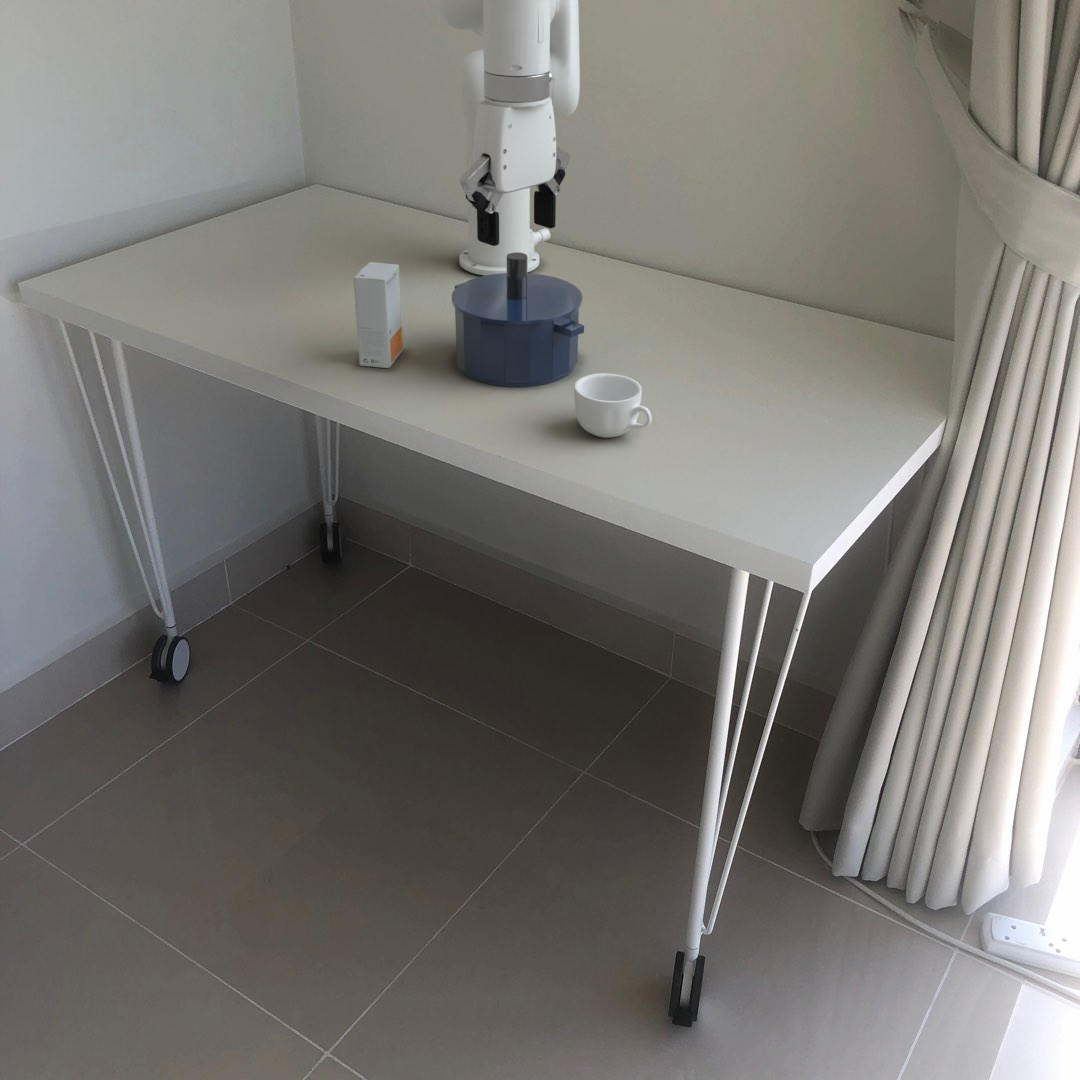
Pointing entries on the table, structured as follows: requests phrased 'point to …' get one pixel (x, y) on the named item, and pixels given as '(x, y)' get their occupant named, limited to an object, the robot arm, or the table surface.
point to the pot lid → (516, 296)
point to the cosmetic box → (378, 314)
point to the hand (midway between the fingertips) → (517, 234)
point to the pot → (517, 350)
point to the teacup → (609, 404)
